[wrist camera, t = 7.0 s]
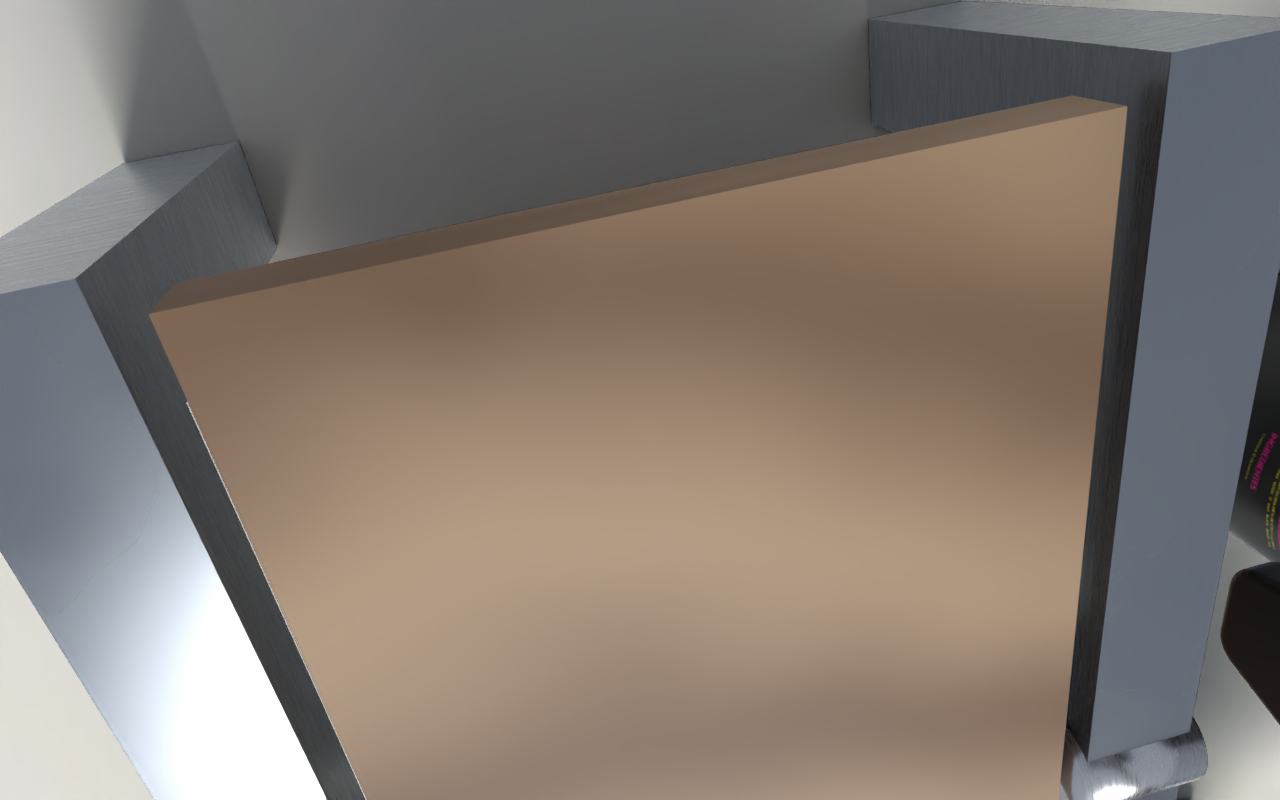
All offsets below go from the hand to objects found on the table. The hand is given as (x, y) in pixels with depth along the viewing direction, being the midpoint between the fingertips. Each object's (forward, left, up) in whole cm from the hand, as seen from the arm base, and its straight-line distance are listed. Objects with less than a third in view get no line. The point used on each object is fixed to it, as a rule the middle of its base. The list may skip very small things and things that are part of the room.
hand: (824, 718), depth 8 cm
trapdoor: (-5, 0, -9) cm, 10 cm away
